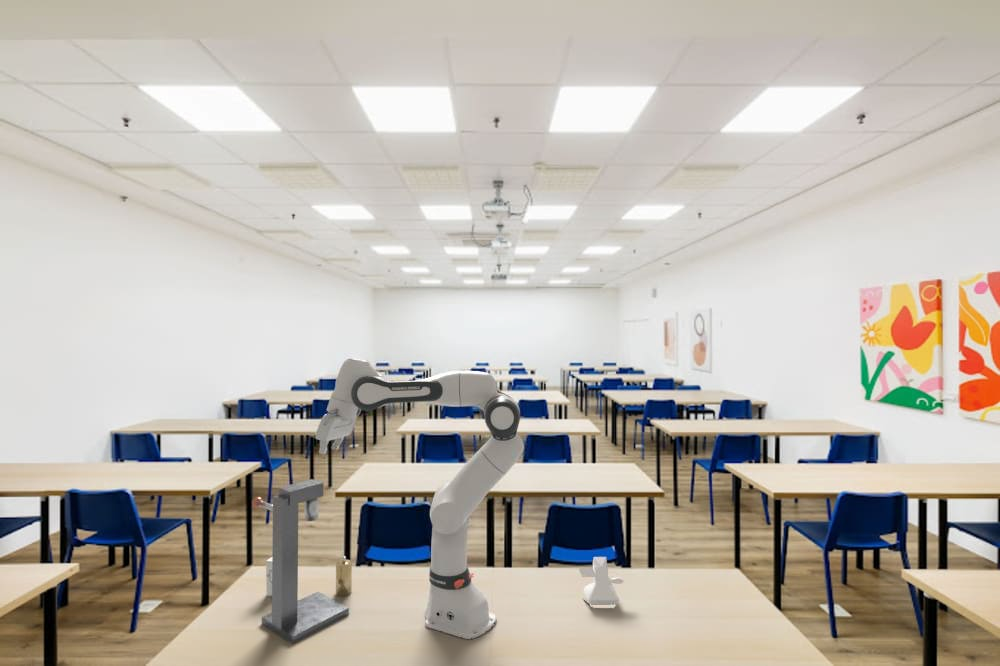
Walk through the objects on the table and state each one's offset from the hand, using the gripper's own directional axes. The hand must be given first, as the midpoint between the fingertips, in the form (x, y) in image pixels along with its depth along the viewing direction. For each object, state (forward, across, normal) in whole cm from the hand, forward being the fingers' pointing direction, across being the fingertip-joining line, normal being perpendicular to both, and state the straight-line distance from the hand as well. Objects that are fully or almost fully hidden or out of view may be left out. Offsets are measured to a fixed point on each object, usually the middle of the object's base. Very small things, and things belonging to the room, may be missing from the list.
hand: (328, 451), depth 160 cm
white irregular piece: (+23, +20, -96) cm, 100 cm away
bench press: (+50, +3, -5) cm, 51 cm away
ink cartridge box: (+53, +16, +7) cm, 56 cm away
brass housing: (+46, +17, -14) cm, 51 cm away
